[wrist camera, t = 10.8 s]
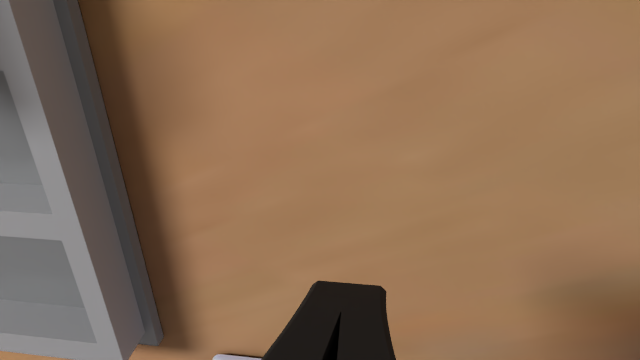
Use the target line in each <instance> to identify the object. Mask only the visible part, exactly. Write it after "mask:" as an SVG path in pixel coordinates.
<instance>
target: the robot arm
mask: <svg viewBox="0 0 640 360" xmlns="http://www.w3.org/2000/svg"><path fill="white" fill-rule="evenodd" d="M212 360H396V358H395V355H394V350H393V346H392V342H391V337H390V332H389V327H388V320H387V312H386V291H385V290H384V289H383V288H382V287H381V286H375V285H363V284H351V283H339V282H327V281H317V282H316V283H314V284H313V285H312V287H311V288H310V290H309V292H308V294H307V295H306V297H305V298H304V300H303V302H302V303H301V305H300V306H299V308H298V309H297V311H296V312H295V314H294V315H293V317H292V318H291V320H290V321H289V323H288V324H287V326H286V327H285V328H284V330H283V331H282V333H281V334H280V335H279V337H278V338H277V339H276V341H275V342H274V343H273V345H272V346H271V347H270V349H269V350H268V351H267V353H266V354H265V355H264V357H263V358H262V359H261V358H252V357H243V356H233V355H224V354H218V355H215V356H214V357H213V359H212Z"/></svg>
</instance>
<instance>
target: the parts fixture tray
mask: <svg viewBox="0 0 640 360" xmlns="http://www.w3.org/2000/svg"><path fill="white" fill-rule="evenodd" d="M163 337H164V336H163V332H162V328H161V324H160V320H159V317H158V313H157V309H156V305H155V301H154V297H153V293H152V289H151V285H150V281H149V277H148V274H147V270H146V266H145V262H144V258H143V254H142V250H141V246H140V242H139V238H138V234H137V231H136V227H135V223H134V219H133V215H132V211H131V207H130V203H129V199H128V195H127V191H126V188H125V184H124V180H123V176H122V172H121V168H120V164H119V160H118V156H117V152H116V148H115V145H114V141H113V137H112V133H111V129H110V125H109V121H108V117H107V113H106V109H105V105H104V102H103V98H102V94H101V90H100V86H99V82H98V78H97V74H96V70H95V66H94V62H93V59H92V55H91V51H90V47H89V43H88V39H87V35H86V31H85V27H84V23H83V19H82V16H81V12H80V8H79V4H78V0H0V351H7V352H16V353H24V354H33V355H41V356H50V357H58V358H67V359H75V360H128V359H129V357H130V356H131V354H132V353H133V351H134V349H135V348H136V346H137V344H145V345H154V346H159V344H160V342H161V341H162V339H163Z"/></svg>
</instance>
